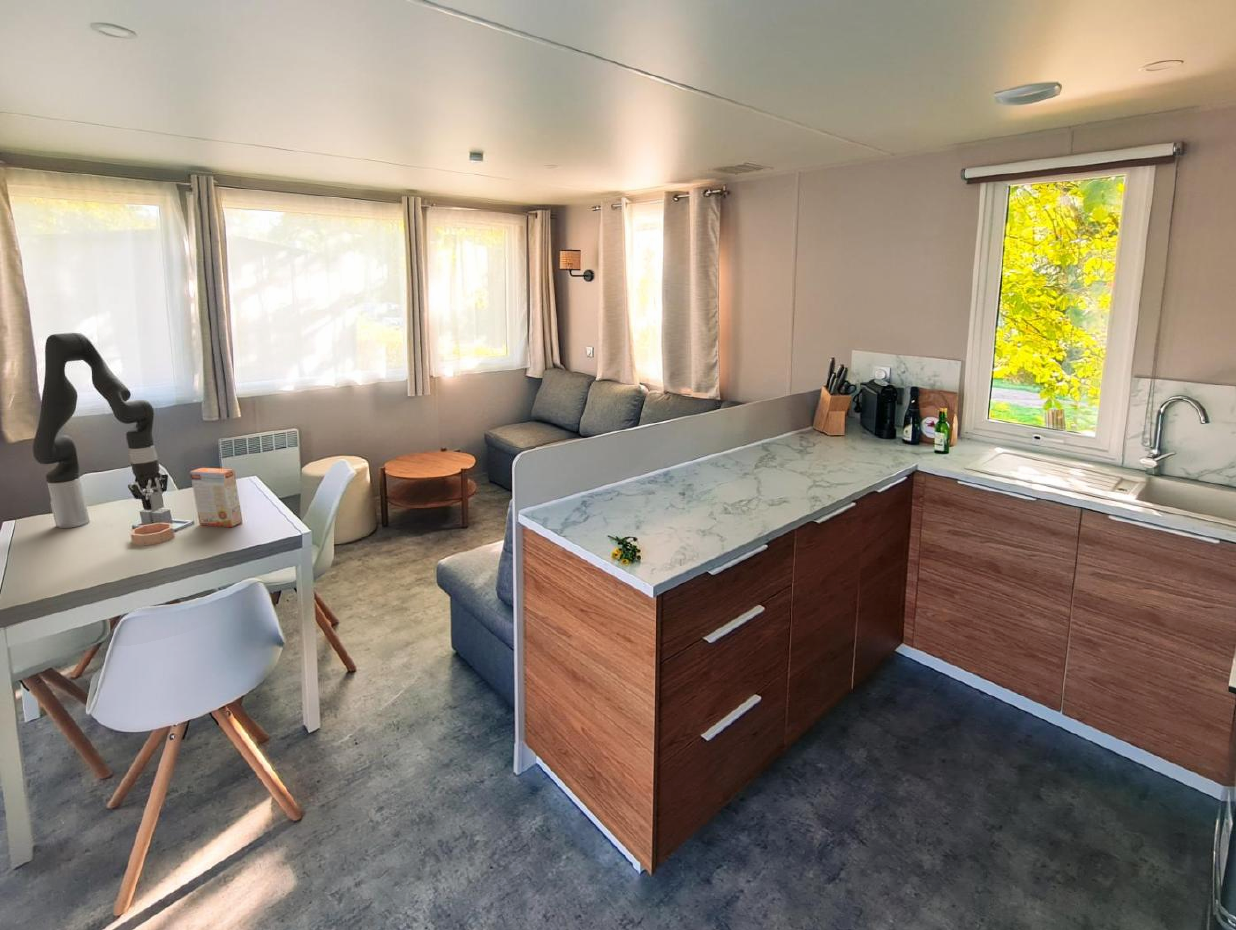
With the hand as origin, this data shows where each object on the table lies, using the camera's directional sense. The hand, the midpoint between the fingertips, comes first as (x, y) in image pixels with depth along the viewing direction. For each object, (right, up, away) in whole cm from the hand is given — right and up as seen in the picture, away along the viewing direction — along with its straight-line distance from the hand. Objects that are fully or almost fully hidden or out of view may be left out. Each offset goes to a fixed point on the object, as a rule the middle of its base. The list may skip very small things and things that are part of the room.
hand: (153, 507), depth 226 cm
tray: (-7, -8, +15) cm, 19 cm away
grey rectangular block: (0, -1, 0) cm, 1 cm away
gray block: (-12, -7, +16) cm, 22 cm away
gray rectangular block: (-7, -8, +15) cm, 19 cm away
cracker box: (+13, -8, +18) cm, 23 cm away
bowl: (-3, -11, +4) cm, 12 cm away
